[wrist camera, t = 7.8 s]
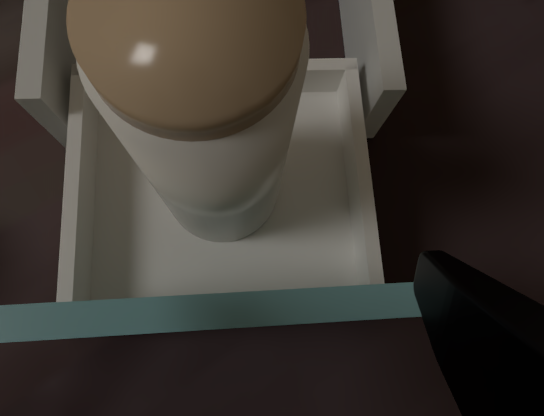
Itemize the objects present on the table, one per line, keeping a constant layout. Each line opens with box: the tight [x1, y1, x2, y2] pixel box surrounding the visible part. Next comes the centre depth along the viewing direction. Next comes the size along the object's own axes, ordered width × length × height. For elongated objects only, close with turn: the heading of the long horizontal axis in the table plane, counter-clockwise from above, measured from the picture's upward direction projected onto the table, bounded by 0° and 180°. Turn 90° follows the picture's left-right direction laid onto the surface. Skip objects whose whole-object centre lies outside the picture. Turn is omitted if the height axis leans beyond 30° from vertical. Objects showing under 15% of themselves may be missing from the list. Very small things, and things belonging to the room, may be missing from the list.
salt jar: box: [66, 0, 309, 242], centre depth 14 cm, size 5×5×12 cm
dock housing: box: [14, 0, 407, 148], centre depth 22 cm, size 12×16×5 cm
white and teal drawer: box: [0, 58, 422, 343], centre depth 18 cm, size 12×15×8 cm
